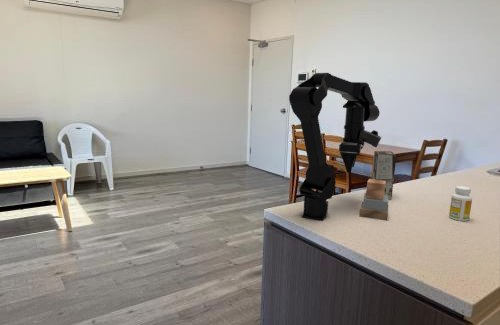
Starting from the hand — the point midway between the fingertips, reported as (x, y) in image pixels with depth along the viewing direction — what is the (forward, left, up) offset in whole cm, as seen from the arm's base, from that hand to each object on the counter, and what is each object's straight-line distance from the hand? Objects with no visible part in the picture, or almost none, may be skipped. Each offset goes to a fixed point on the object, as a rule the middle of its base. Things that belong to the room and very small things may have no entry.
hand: (350, 169), depth 117 cm
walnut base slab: (+9, -6, -13) cm, 17 cm away
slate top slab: (+9, -6, -10) cm, 14 cm away
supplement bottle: (+33, +1, -12) cm, 35 cm away
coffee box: (+10, +16, -12) cm, 22 cm away
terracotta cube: (+8, -6, -6) cm, 12 cm away
